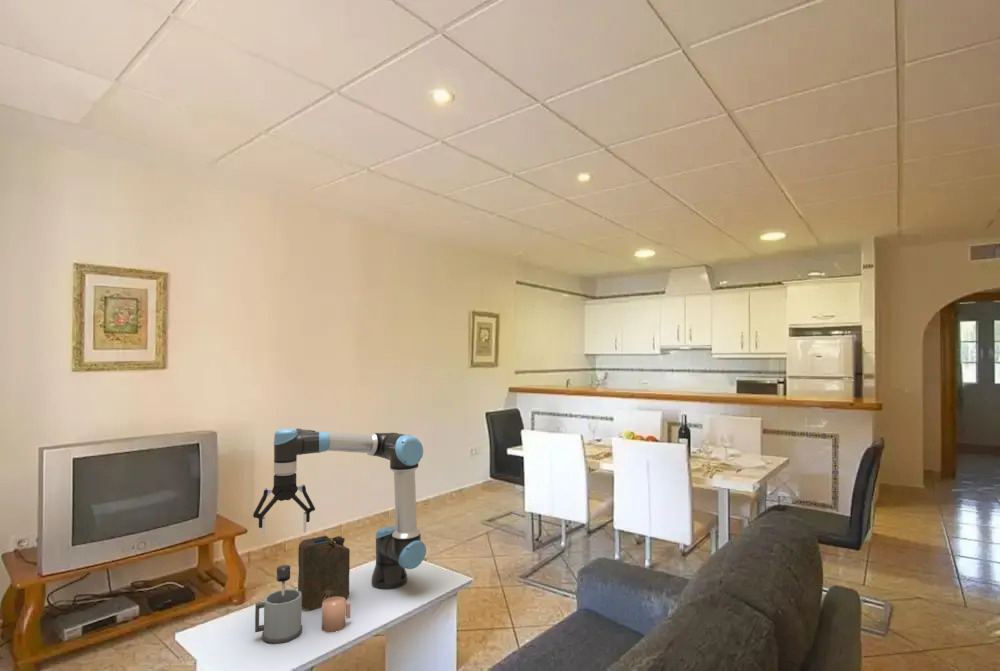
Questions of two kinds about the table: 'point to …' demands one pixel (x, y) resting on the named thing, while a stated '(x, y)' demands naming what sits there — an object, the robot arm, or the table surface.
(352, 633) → the table surface
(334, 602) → the peach mug
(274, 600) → the faceted grey tankard
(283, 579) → the plunger
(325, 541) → the canister
